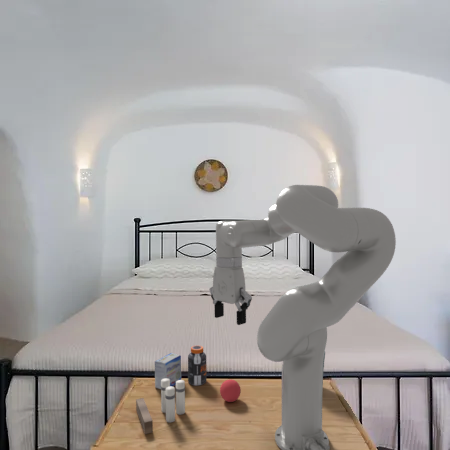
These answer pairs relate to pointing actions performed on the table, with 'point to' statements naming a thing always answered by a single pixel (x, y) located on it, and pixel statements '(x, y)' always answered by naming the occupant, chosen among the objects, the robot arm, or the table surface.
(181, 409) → the front pin
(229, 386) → the ball
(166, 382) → the pin
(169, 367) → the medicine box
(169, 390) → the pin
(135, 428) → the table surface
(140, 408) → the back wall
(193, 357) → the pill bottle
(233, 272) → the robot arm
